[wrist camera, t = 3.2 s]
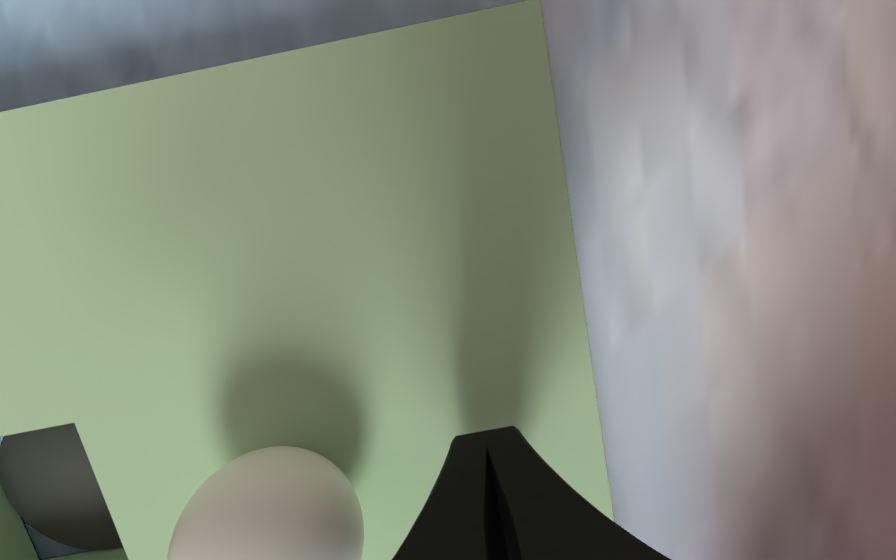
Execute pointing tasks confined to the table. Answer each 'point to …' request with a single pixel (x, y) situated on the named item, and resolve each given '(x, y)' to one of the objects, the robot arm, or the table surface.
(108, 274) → the putting mat
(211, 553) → the ball
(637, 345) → the table surface
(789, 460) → the table surface
